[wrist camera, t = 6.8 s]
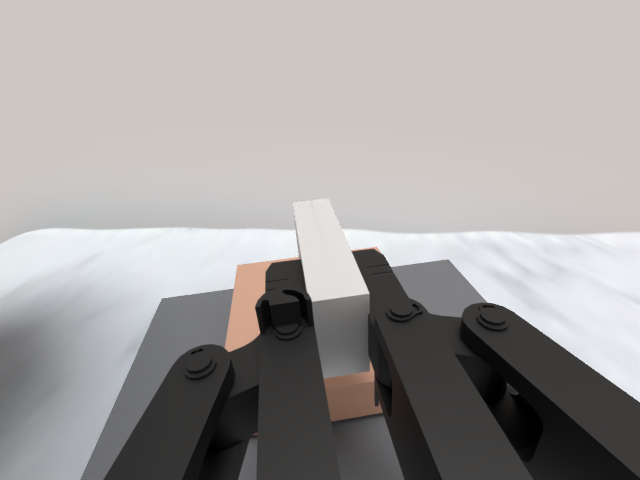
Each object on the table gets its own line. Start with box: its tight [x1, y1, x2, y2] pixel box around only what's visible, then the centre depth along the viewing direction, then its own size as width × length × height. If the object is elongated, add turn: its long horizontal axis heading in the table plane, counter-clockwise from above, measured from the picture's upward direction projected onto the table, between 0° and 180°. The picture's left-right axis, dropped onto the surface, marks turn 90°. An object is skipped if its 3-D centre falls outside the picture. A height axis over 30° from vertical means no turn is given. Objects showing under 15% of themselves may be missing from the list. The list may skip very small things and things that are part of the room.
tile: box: [225, 247, 383, 435], centre depth 18 cm, size 9×2×10 cm
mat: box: [81, 260, 487, 480], centre depth 17 cm, size 20×15×1 cm
